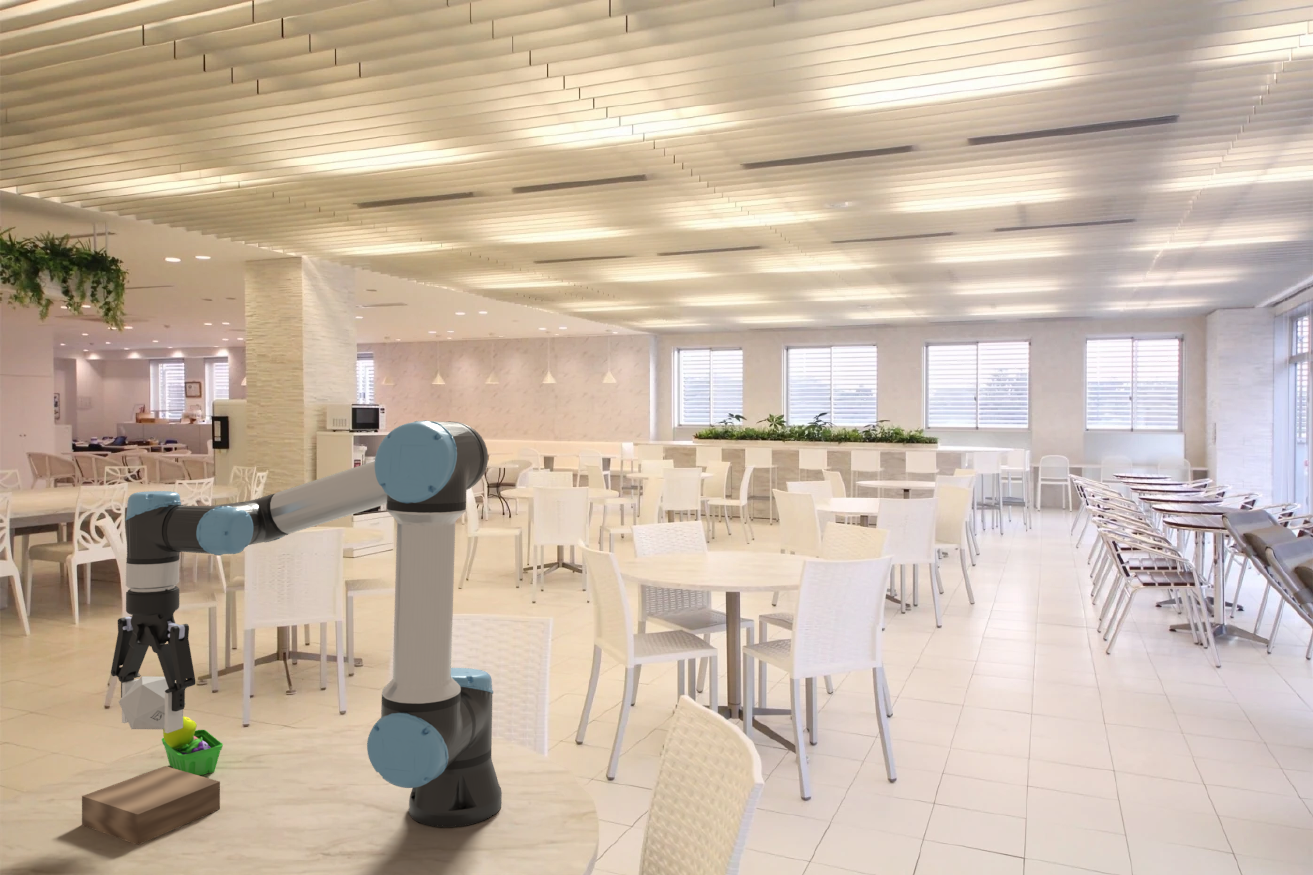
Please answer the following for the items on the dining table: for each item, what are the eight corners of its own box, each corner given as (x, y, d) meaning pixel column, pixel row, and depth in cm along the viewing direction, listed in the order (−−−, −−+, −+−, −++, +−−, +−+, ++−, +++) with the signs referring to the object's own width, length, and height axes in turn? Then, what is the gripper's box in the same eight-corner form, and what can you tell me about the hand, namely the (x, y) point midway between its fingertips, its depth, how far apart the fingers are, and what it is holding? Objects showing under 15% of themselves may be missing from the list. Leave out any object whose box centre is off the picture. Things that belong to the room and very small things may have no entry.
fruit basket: (224, 772, 162) (225, 710, 162) (171, 785, 156) (171, 721, 156) (203, 754, 170) (204, 696, 170) (152, 767, 164) (152, 706, 164)
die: (137, 743, 137) (180, 689, 140) (96, 713, 139) (140, 659, 141) (164, 744, 145) (204, 692, 148) (125, 715, 146) (165, 664, 149)
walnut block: (219, 811, 147) (219, 781, 147) (137, 847, 134) (137, 814, 134) (165, 794, 153) (165, 766, 153) (81, 827, 140) (82, 796, 140)
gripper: (221, 589, 142) (220, 728, 142) (129, 577, 151) (128, 708, 151) (179, 597, 135) (178, 743, 135) (85, 584, 144) (84, 721, 144)
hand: (152, 725), depth 143 cm, fingers closed on die, 9 cm apart
